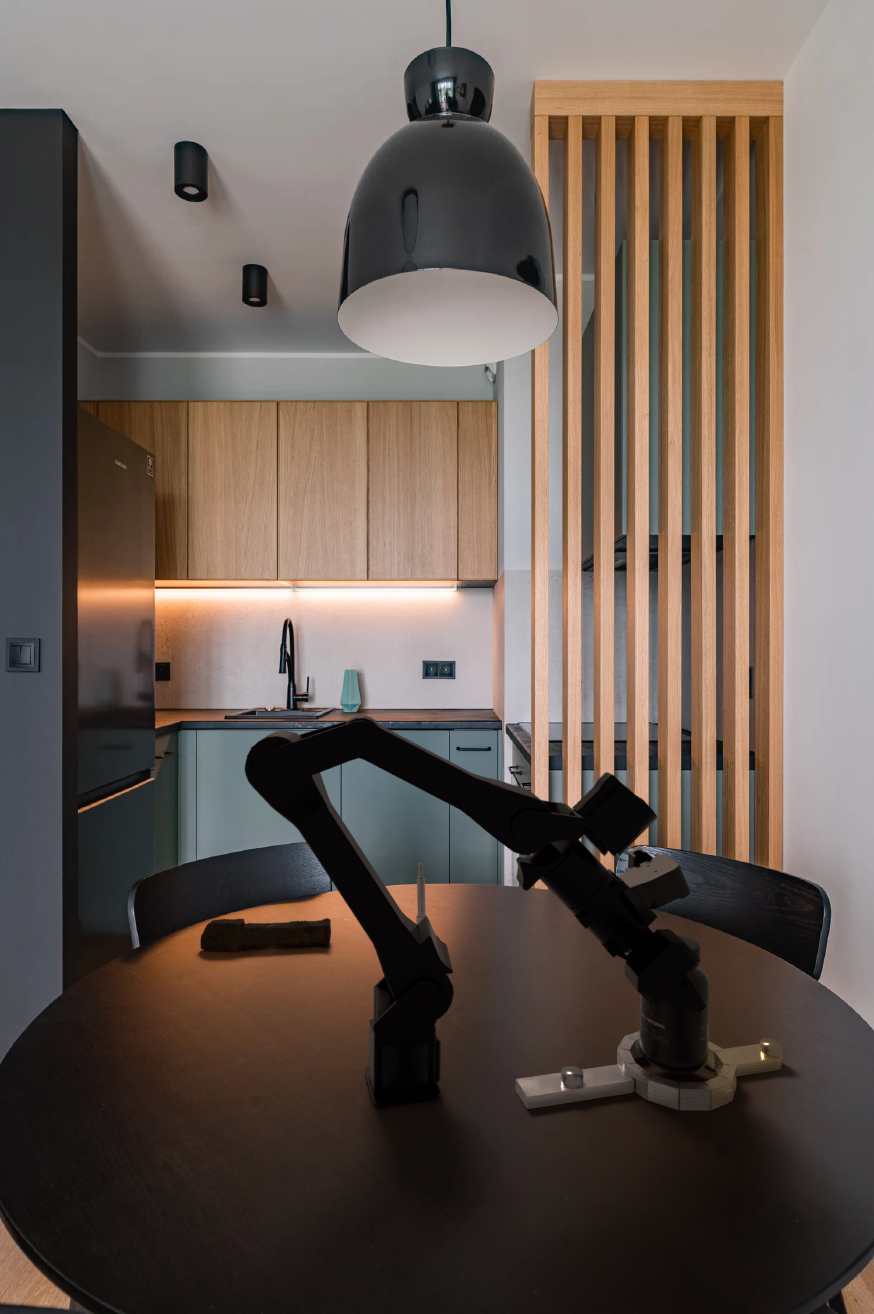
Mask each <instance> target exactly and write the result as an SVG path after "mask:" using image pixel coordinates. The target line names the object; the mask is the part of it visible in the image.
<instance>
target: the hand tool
mask: <svg viewBox="0 0 874 1314" xmlns="http://www.w3.org/2000/svg"><path fill="white" fill-rule="evenodd" d="M331 923H332V921H331V919H330V918H329V917H326V918H324V919H323V918H322V919H321V920H320V919H318V920H309V921H308V920H301V921H300V920H293V921H288V922H266V923H265V922H263V923H261V922H247V923H246V922H245V919H244V918H235V919H232V918H231V919H230V918H221V919H220V918H219V919H212V920H211V921H209V922H208V923H207V924H206V926H205V928H204V929H203V932H202V934H201V935H200V940H199V941H200V942H199V943H200V944H199V945H200V949H201V950H203V951H208V952H216V953H218V952H220V953H221V952H228V953H230V952H231V953H232V952H233V953H238V952H240V951H242V950H243V949H248V948H263V947H264V948H266V947H267V948H269V947H286V946H287V947H290V946H291V947H293V946H309V947H312V946H317V945H319V946H320V945H322V946H323V945H324V946H325V947H326V949H327V948H329V947H330V944H331V938H332V924H331Z"/></svg>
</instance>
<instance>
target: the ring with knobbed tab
mask: <svg viewBox="0 0 874 1314" xmlns="http://www.w3.org/2000/svg"><path fill="white" fill-rule="evenodd" d="M782 1066H783V1044H782V1042H780V1041H779V1040H777V1039H774V1038H771V1037H764V1038H761V1039H760V1040H759V1043H757V1044H750V1045H743V1046H734V1047H729V1048H722V1047H720V1046H719V1045H717V1044H715V1043H714V1042H711V1041H709V1040H708V1060H707V1063H706V1065H705V1067H707V1068H709V1067H710V1069H711V1070H712V1071H714V1070H715V1071H716V1072H715V1071H714V1072H715V1073H717V1074H716V1075H717V1076H716V1077H713V1078H711V1079H708V1080H706V1081H704V1082H705V1083H703V1084H704V1085H708V1086H707V1087H709V1088H710V1111H714V1110H716V1109H717V1108H720V1106H721V1107H722V1106H725V1105H727V1104H729V1102H730V1103H732V1102H733V1100H734V1096H735V1093H736V1089H737V1077H742V1076H747V1075H754V1074H762V1073H767V1072H772V1071H773V1072H774V1071H779V1070H782ZM713 1109H714V1110H713Z"/></svg>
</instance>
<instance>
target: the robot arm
mask: <svg viewBox="0 0 874 1314" xmlns="http://www.w3.org/2000/svg"><path fill="white" fill-rule="evenodd" d="M358 759H360V760H363V761H366V762H367V763H369V764H371V765H373V766H375V767H377V768H379V769H381V770H383V771H385V772H386V773H388V774H391V775H392V776H394V777H396V778H398V779H400V780H402V781H404V782H406V783H408V784H409V785H412V786H414V787H415V788H417V789H420V790H421V791H423V792H425V793H427V794H428V795H431V796H433V797H435V798H437V799H438V800H441V801H443V802H444V803H446V804H447V805H450V806H452V807H454V808H455V809H458V810H460V811H461V812H462V813H464V815H466V816H468V817H469V818H470V819H471V820H472V821H474V822H475V823H476V824H477V825H478V826H479V827H481V828H482V829H483V830H484V831H485V832H486V833H488V834H489V835H490V836H492V837H493V838H494V839H495V840H496V841H498V842H499V843H500V844H502V845H504V846H505V847H506V848H507V849H508V850H510V851H511V852H513V853H515V854H518V855H520V856H523V857H520V856H518V857H516V860H515V861H516V863H517V868H516V869H517V870H516V871H517V872H516V878H515V879H516V881H517V882H518V884H519V885H520V887H521V889H522V890H523V891H524V892H526V891H529V890H530V889H532V888H533V886H534V885H535V884H536V883H537V882H538V881H539V880H540V881H541V882H542V883H543V885H544V886H546V887H547V888H548V889H549V891H550V892H551V893H552V894H553V895H554V896H555V897H556V898H557V899H558V900H559V901H560V902H561V904H563V905H564V906H565V907H566V909H568V911H570V913H571V914H573V916H574V917H575V919H577V921H578V923H579V924H581V926H583V928H584V929H585V930H588V931H589V932H590V933H591V935H593V937H594V938H596V940H597V941H598V942H599V943H600V944H601V946H602V947H603V948H604V949H605V951H607V953H608V954H609V955H610V956H611V957H612V958H613V959H615V958H616V957H619V958H621V959H623V960H625V961H624V962H625V963H624V976H625V978H626V979H627V980H628V982H630V984H631V985H632V986H633V988H635V990H636V991H637V992H638V993H639V995H640V994H641V995H642V996H643V997H644V998H645V999H646V1000H647V1001H648V1002H649V1003H650V1005H653V1004H658V1003H659V1002H660V1001H661V1000H662V1001H665V1002H668V1003H671V1004H674V1005H677V1006H680V1007H682V1008H685V1009H688V1010H690V1011H693V1012H696V1013H701V1012H702V1011H703V1010H704V1009H705V1008H706V1004H705V1002H704V1001H703V999H702V997H701V996H700V994H699V992H698V990H697V989H696V987H695V985H694V984H693V982H692V980H691V978H690V977H689V975H688V972H689V971H690V970H691V969H692V968H693V967H694V966H695V965H696V964H697V959H698V956H697V955H696V954H695V953H694V952H693V951H692V950H691V949H690V947H689V946H688V945H687V944H686V943H685V942H684V941H683V940H681V939H680V938H679V937H678V936H677V935H678V934H676V933H675V932H674V931H673V930H672V929H670V928H669V929H668V928H667V929H666V928H659V929H656V930H655V931H653V930H652V929H651V928H650V925H651V924H652V923H654V921H655V920H657V919H658V915H656V913H655V912H654V911H653V910H657V909H660V908H662V907H664V906H667V905H668V904H670V903H672V902H674V901H676V900H678V899H680V900H683V899H685V898H687V897H688V896H689V895H690V894H691V891H692V890H691V888H690V886H689V884H688V881H687V879H686V877H685V874H684V872H683V870H682V867H681V865H680V863H679V862H677V861H676V860H675V859H673V858H672V857H670V856H669V855H667V854H660V853H658V852H657V853H655V854H654V856H652V855H650V854H649V852H647V851H645V850H644V849H643V848H641V847H637V848H635V849H633V850H630V851H629V852H628V853H627V854H628V857H627V867H625V868H624V870H625V872H623V873H622V874H620V875H616V874H615V873H616V872H614V871H613V870H612V869H610V868H608V869H607V868H606V866H604V864H603V863H602V862H601V861H600V860H599V859H598V858H597V857H596V856H595V855H594V853H592V852H591V851H590V850H589V849H588V847H587V846H585V844H584V843H582V841H581V840H580V839H581V838H582V837H584V838H585V839H586V840H587V841H588V842H589V843H590V845H591V846H593V847H594V848H595V849H596V850H597V851H598V852H599V853H600V854H601V855H602V856H603V857H605V856H606V855H607V854H608V852H609V854H610V855H611V856H612V857H616V855H617V856H618V857H620V856H621V855H622V854H623V853H624V852H625V851H626V850H627V849H629V847H630V846H631V845H632V844H634V842H636V840H637V839H638V838H639V837H640V836H641V835H642V834H643V833H644V832H645V831H646V830H647V829H648V828H649V827H650V826H651V825H652V824H653V823H654V822H655V821H656V820H657V819H658V815H657V813H655V811H654V810H653V808H651V806H650V805H649V804H648V803H647V802H646V801H645V800H644V798H642V797H640V796H639V795H636V794H635V793H634V792H633V791H632V789H631V790H630V788H628V787H627V786H626V785H625V784H624V783H622V782H621V781H620V780H619V779H618V778H617V776H616V775H614V774H612V773H610V772H604V773H603V774H602V775H601V776H600V777H599V778H598V779H597V780H596V782H595V783H594V785H593V787H591V789H589V791H587V793H585V795H584V796H583V797H581V798H580V799H579V801H577V802H576V804H575V805H573V806H572V807H571V806H570V805H568V804H567V803H564V802H561V801H560V802H556V801H550V800H544V799H541V798H540V797H538V796H537V795H536V794H535V793H533V792H532V791H531V790H530V789H527V788H525V787H521V786H517V785H515V784H512V783H508V782H505V781H502V780H499V779H494V778H490V777H486V776H482V775H479V774H475V773H473V772H471V771H468V770H467V769H465V768H463V767H461V766H460V765H457V764H456V763H453V762H451V761H449V760H447V759H446V758H444V757H443V756H440V755H438V754H436V753H434V752H432V750H431V751H430V750H429V749H426V748H425V747H424V746H421V745H419V744H417V743H415V742H413V741H412V740H410V739H408V738H406V737H404V736H403V735H400V734H398V733H397V732H395V731H392V730H391V729H389V728H387V727H385V726H383V725H381V724H379V722H377V721H376V719H374V718H373V717H371V716H368V715H364V714H363V715H356V716H353V717H350V719H349V720H346V721H342V722H339V723H335V724H331V725H329V726H328V725H327V726H325V727H321V728H318V729H313V730H310V731H306V732H304V733H301V734H299V733H297V732H294V731H288V730H279V731H274V732H271V733H269V734H268V735H266V736H264V737H263V738H261V739H260V740H258V741H257V742H256V743H255V744H254V745H253V746H252V747H251V748H250V750H249V751H248V754H247V755H246V759H245V764H244V774H245V777H246V780H247V782H248V783H249V785H250V786H251V787H252V789H253V790H254V791H255V792H257V793H258V795H259V796H260V797H262V799H263V800H264V801H265V802H266V803H267V804H268V806H270V808H272V810H274V811H275V812H276V813H278V814H279V815H280V816H282V817H283V818H284V819H286V820H287V821H288V823H291V825H293V826H294V827H295V828H296V829H297V830H298V831H299V834H300V835H301V837H302V838H303V840H304V841H305V843H306V844H307V845H308V847H309V849H310V850H311V852H312V853H313V855H314V856H315V858H316V859H317V861H318V862H319V864H320V865H321V867H322V869H323V870H324V871H325V873H326V875H327V876H328V877H329V878H328V879H330V880H331V882H332V884H333V885H334V887H335V888H336V890H337V891H338V893H339V894H340V896H341V897H342V899H343V900H344V902H345V904H346V905H347V907H348V908H349V910H350V911H351V913H352V914H353V916H354V918H355V919H356V920H357V922H358V923H359V925H360V927H361V928H362V929H363V931H364V933H365V934H366V935H367V937H368V938H369V941H370V942H371V943H372V945H373V948H374V950H375V953H376V956H377V959H378V962H379V965H380V967H381V971H382V973H383V977H382V978H381V979H380V980H379V981H378V982H377V983H375V984H374V987H373V1014H372V1015H373V1017H372V1019H369V1020H368V1066H366V1067H365V1068H364V1075H365V1078H366V1082H367V1084H368V1085H367V1086H368V1089H369V1091H370V1096H371V1099H372V1101H373V1102H372V1103H373V1106H374V1107H375V1108H378V1109H380V1108H386V1107H387V1108H388V1107H392V1106H393V1107H394V1106H400V1105H407V1104H414V1103H421V1102H427V1101H434V1100H438V1099H440V1098H441V1091H440V1089H439V1087H438V1085H437V1083H439V1082H440V1081H441V1057H442V1056H441V1055H442V1053H441V1051H442V1046H441V1045H442V1042H441V1040H440V1037H439V1035H438V1033H437V1030H436V1029H437V1027H436V1023H437V1021H438V1020H439V1019H441V1018H442V1017H443V1016H444V1015H445V1014H446V1013H447V1012H448V1011H449V1009H450V1007H451V1005H452V1003H453V999H454V994H455V993H454V992H455V991H454V985H453V981H452V977H451V976H452V975H451V974H453V973H454V969H453V965H452V962H451V957H450V953H449V949H448V945H447V944H446V943H445V942H444V941H442V940H441V939H439V938H440V937H439V936H438V935H437V934H436V932H435V931H434V929H433V926H432V924H431V921H430V919H429V917H428V916H427V917H425V918H424V919H423V920H421V921H420V922H419V923H418V924H416V922H415V921H413V920H412V919H411V918H409V917H408V916H407V915H406V914H405V913H404V912H403V911H402V910H401V908H400V906H399V905H398V903H397V902H396V900H395V899H394V897H393V896H392V894H391V893H390V891H389V890H388V888H387V887H386V885H385V883H384V882H383V880H382V878H381V877H380V875H379V874H378V873H377V872H376V870H375V868H374V867H373V865H372V863H371V862H370V860H369V859H368V857H367V855H365V853H364V852H363V849H362V848H361V847H360V845H359V843H358V842H357V841H356V839H355V837H354V836H353V834H352V833H351V831H350V830H349V828H348V827H347V825H346V824H345V822H344V821H343V819H342V817H341V816H340V814H339V813H338V812H337V810H336V808H335V807H334V806H333V804H332V802H331V800H330V797H329V794H328V791H327V789H326V786H325V784H324V783H325V782H324V779H323V777H322V774H321V773H322V772H325V771H327V770H330V769H333V768H335V767H338V766H341V765H343V764H346V763H348V762H351V761H354V760H358ZM436 935H437V936H438V937H439V938H438V937H437V936H436Z"/></svg>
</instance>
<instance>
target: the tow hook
mask: <svg viewBox="0 0 874 1314" xmlns="http://www.w3.org/2000/svg"><path fill="white" fill-rule="evenodd" d="M417 868H418V869H417V873H418V874H417V876H418V877H416V890H417V891H416V896H417V902H416V903H417V915H416V916H415V917H416V918H415V921H416V922H415V923H416V924H418V923H419V922H420V921H421V920H423V919H424V918H425V917H428V916H427V915H426V914H427V913H426V912H427V911H426V910H427V909H426V877H424V863H422V862H420V863H419V862H418V863H417ZM436 936H437V937H438V938H439V939H440V936H438V935H437V934H436ZM440 940H441V939H440Z"/></svg>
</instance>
